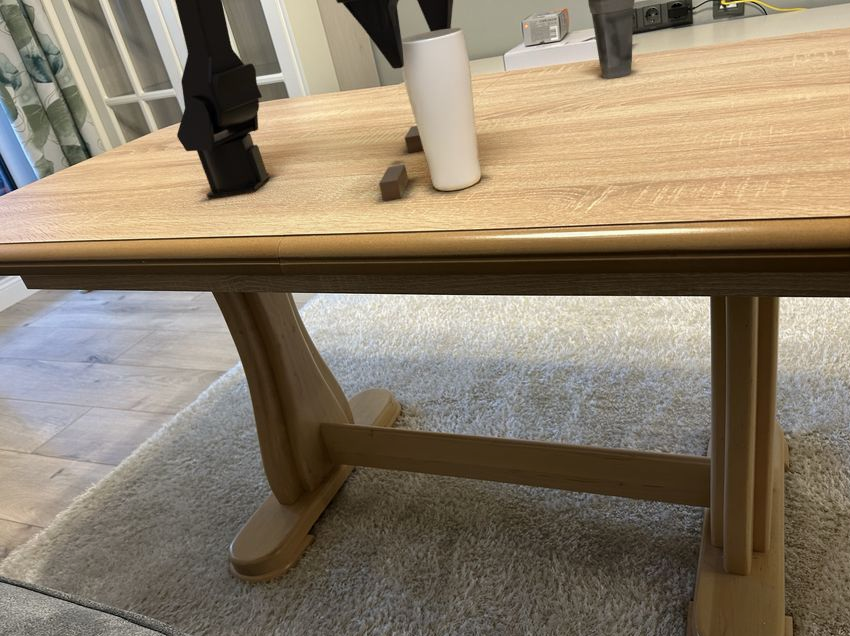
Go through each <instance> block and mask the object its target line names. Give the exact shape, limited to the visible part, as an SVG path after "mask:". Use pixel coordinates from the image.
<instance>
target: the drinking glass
mask: <svg viewBox="0 0 850 636" xmlns="http://www.w3.org/2000/svg"><path fill="white" fill-rule="evenodd" d="M464 32H465V31H464V29H463V28H461V27H451V28H450V29H443V30H437V31H427V32H422V33H418V34H414V35H410V36H407V37H404V38H401V40H402V48H403V60H404V66H403V67H402V68H400V69H401V74H402V79H403V83H404V88H405V90H406V94H407V97H408V101H409V104H410V108H411V111H412V114H413V118H414V121H415V124H416V125H415V126H417V128H418V132H419V135H420V138H421V142H422V145H423V152H424V156H425V159H426V162H427V166H428V170H429V175H430V179H431V184H432V185H433V187H434V188H435V189H436V190H439V191H444V192H445V191H446V192H447V191H448V192H450V191H459V190H462V189H466V188H469V187H472V186H473V185H475V184H476V183H478V182H480V179H481V178H482V177H481V176H482V171H481V166H480V159H479V149H478V139H477V138H478V137H477V128H476V127H477V126H476V115H475V103H474V91H473V80H472V71H471V63H470V58H469V57H470V56H469V52H468V46H467V42H466V38H465V33H464Z"/></svg>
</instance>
